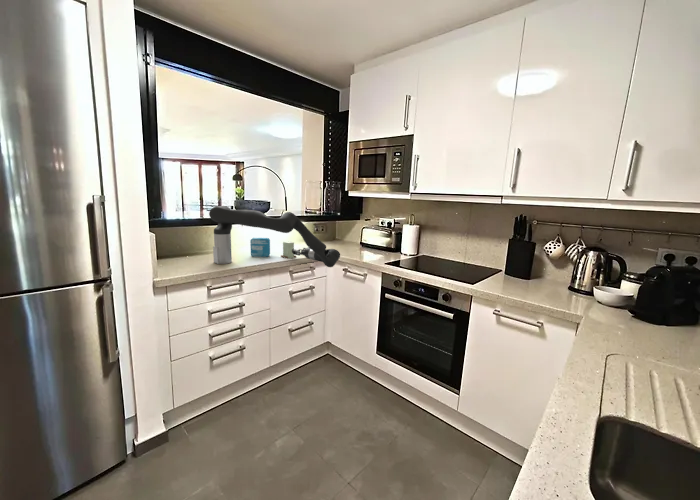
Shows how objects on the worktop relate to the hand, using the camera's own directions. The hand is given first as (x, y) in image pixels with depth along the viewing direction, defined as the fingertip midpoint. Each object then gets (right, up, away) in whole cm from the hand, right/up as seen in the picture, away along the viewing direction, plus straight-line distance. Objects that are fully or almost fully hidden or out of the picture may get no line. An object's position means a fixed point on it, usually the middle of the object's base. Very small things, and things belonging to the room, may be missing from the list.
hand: (298, 250), depth 198 cm
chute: (-8, -5, +9) cm, 13 cm away
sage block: (-8, -5, +9) cm, 13 cm away
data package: (-27, -4, +9) cm, 28 cm away
